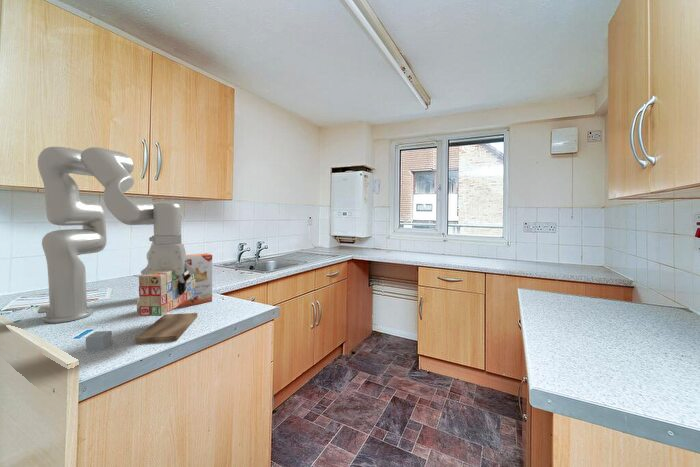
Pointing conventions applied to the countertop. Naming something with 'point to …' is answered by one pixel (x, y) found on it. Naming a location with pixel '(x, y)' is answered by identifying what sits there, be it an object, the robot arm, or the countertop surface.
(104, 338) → the slate cube
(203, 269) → the cracker box
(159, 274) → the stack of blocks
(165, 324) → the walnut board
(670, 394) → the countertop surface
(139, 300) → the beech cube
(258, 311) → the countertop surface
